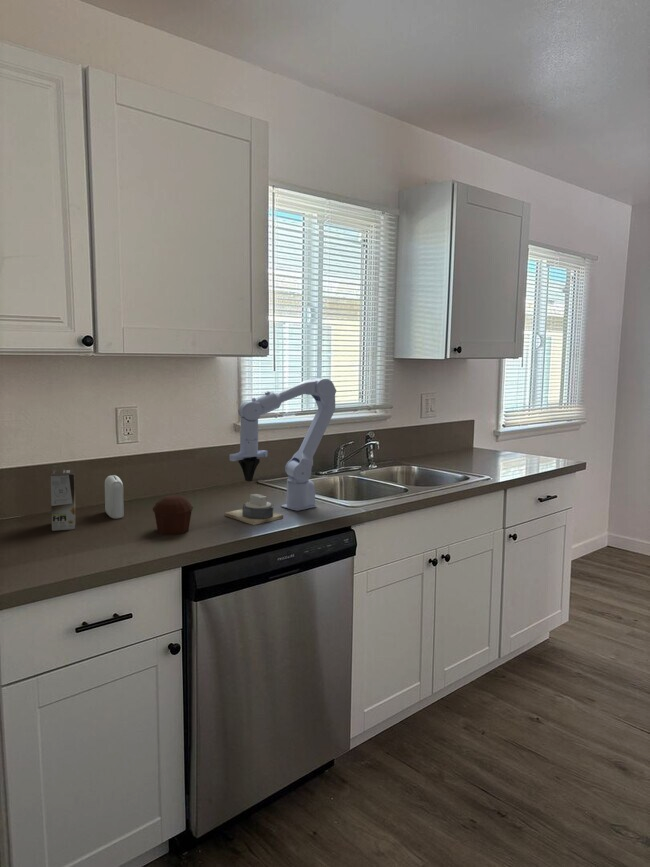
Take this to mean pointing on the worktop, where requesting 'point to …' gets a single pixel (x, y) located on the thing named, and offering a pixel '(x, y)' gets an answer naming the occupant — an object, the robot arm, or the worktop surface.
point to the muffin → (172, 515)
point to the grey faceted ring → (257, 512)
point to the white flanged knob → (258, 502)
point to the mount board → (239, 516)
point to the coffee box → (62, 499)
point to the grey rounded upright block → (114, 497)
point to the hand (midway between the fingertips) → (248, 480)
